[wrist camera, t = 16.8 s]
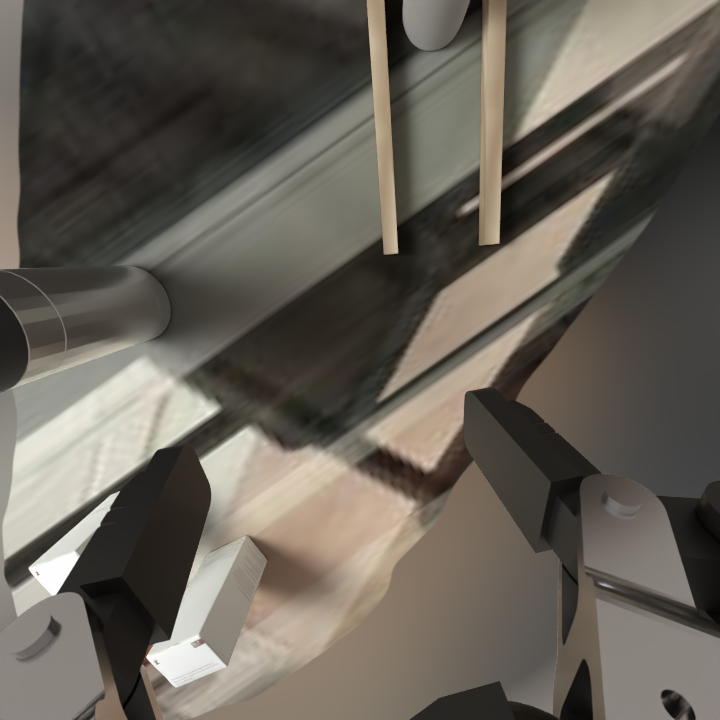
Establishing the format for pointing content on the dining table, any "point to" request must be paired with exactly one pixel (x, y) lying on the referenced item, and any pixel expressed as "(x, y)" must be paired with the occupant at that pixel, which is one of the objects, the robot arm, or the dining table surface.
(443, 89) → the dining table surface
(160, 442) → the dining table surface
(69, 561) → the supplement box
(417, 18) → the lotion bottle
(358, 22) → the dining table surface
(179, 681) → the skincare box
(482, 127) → the guide lane
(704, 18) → the dining table surface
